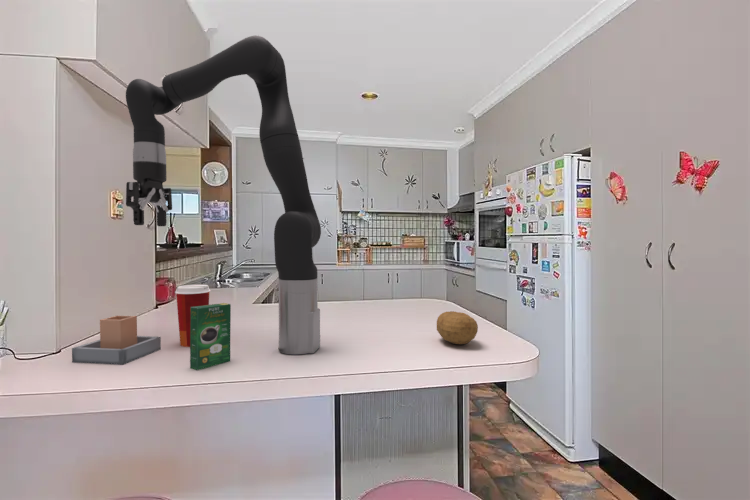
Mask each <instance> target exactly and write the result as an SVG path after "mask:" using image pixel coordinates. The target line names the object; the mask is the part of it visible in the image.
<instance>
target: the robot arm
mask: <svg viewBox="0 0 750 500" xmlns="http://www.w3.org/2000/svg"><path fill="white" fill-rule="evenodd" d="M245 75H247V77H249V78H250V79H252V80H253V81H254V83H255V85H256V88H257V93H258V96H259V99H260V103H261V116H260V117H261V118H260V123H259V142H260V146H261V151H262V155H263V160H264V164H265V166H266V168H267V170H268V173H269V175H270V177H271V179H272V180H273V182H274V184H275V186H276V188H277V189H278V191H279V194H280V196H281V199H282V203H283V208H284V213H282V214H281V215H280V216H279V217H278V218H277V220H276V222H275V226H274V231H273V244H274V248H273V249H274V261H275V262H274V263H275V268H276V270H277V273H278V274H277V275H278V352H280V353H281V354H285V355H305V354H314V353H315V352H316V351H317V350H319V349H320V347H321V309H320V308H319V307H318V306H319V305H318V304H319V303H318V301H319V300H318V299H319V297H318V267H317V265H316V264H315V262H314V258H313V248H314V247H315V246H316V245H317V244H319V241H320V239H321V236H322V235H321V234H322V228H321V224H320V221H319V217H318V214H317V210H316V209H315V205H314V203H313V199H312V196H311V192H310V189H309V182H308V177H307V171H306V168H305V167H306V166H305V162H304V157H303V151H302V147H301V143H300V137H299V134H298V130H297V126H296V122H295V119H294V118H295V117H294V113H293V108H292V105H291V101H290V97H289V92H288V91H289V90H288V88H289V87H288V82H287V71H286V66H285V61H284V59H283V56H282V54H281V53H280V51H278V49H276V48H275V46H273V44H272V43H271V42H270V41H269V40H268V39H266V38H265V37H263V36H261V35H251V36H247V37H245V38H243V39H241V40H239V41H237V42H236V43H234V44H232V45H231V46H229V47H227V48H226V49H224V50H221V51H220V52H218V53H216V54H214V55H213V56H212V57H211V56H210V57H209V58H208V59H206V60H204V61H202V62H199V63H196V64H195V65H192V66H189V67H187V68H183V69H180V70H178V71H175V72H171V73H169V74H167V75H165V76H164V77H163V79H162V81H161V85H162V86H157V85H154V84H153V83H152V82H149V81H147V80H144V79H141V78H136V79H133V80H131V81H130V82H129V83H128V84H127V86H126V91H125V103H126V107H127V109H128V112H129V117H130V120H131V122H132V125H133V146H132V147H133V149H132V178H133V180H134V181H127V182H126V184H125V185H126V187H125V188H126V189H125V206H126V207H129V208H131V210H132V214H133V215H132V217H133V219H132V220H133V224H134V226H144V225H145V210H144V209H145V207H146V205H147V204H148V203H151V205H152V206H154V207H155V209H156V225H157V227H166V226H167V213H168V212H169V211H172V210H173V198H172V195H173V194H172V189H171V187H164V185H163V183H165V182H167V151H166V139H165V138H166V136H165V135H166V132H165V127H164V125H163V124H162V122H160V121H159V120H158V119H157V118H156V116H161V115H165V114H168V113H170V112H172V111H173V110H175V109H176V108H177V107H179V106H180V105H182V104H183V103H186V102H190V101H193V100H196V99H199V98H201V97H203V96H206V95H208V94H209V93H210V92H212V91H213V90H214V89H215V88H217V86H218V85H219V84H221V82H223V81H224V80H228V79H229V78H233V77H236V76H245ZM132 197H133V198H132ZM132 199H133V201H132ZM166 203H167V204H166Z"/></svg>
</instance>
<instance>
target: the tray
mask: <svg viewBox="0 0 750 500" xmlns="http://www.w3.org/2000/svg"><path fill="white" fill-rule="evenodd" d="M161 341H162V338H161V336H153V335H152V336H148V335H146V336H145V335H137V344H135V345H132V346H129V347H126V348H124V349H110V348H100V339H98V340H95V341H92V342H88V343H85V344H81V345H78V346H75V347H72V348H71V363H74V364H75V363H78V364H98V365H119V366H123V365H126V364H128V363H131V362H133V361H137V360H138V359H140V358H143V357H146V356H148V355H150V354H154V353H155V352H158V351H160V350H161V349H162V344H161Z"/></svg>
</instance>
